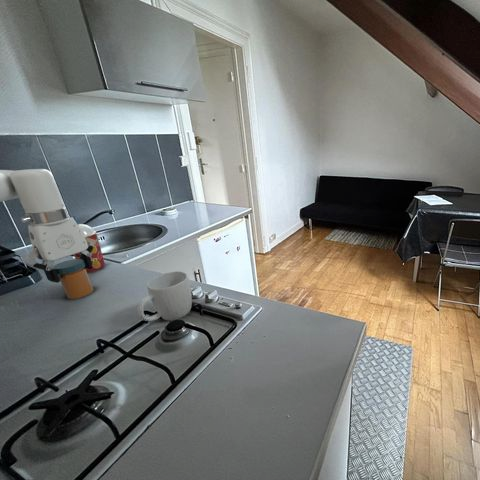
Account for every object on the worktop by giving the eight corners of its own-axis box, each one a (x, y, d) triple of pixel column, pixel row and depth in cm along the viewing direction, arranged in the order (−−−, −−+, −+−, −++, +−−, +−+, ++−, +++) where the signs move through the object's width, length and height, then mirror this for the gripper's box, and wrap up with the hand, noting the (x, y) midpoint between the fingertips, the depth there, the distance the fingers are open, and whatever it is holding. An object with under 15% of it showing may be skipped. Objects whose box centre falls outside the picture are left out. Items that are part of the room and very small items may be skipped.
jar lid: (66, 265, 78) (63, 260, 78) (90, 263, 79) (88, 257, 79) (48, 275, 72) (46, 270, 71) (75, 273, 73) (73, 267, 72)
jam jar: (63, 298, 77) (50, 270, 74) (85, 288, 82) (74, 261, 79) (76, 301, 75) (64, 272, 72) (98, 290, 80) (88, 263, 77)
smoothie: (106, 262, 100) (88, 212, 93) (110, 269, 95) (91, 216, 88) (78, 270, 95) (56, 217, 88) (80, 277, 89) (57, 221, 82)
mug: (182, 300, 74) (173, 268, 70) (202, 308, 70) (195, 275, 66) (134, 326, 64) (121, 291, 60) (155, 338, 59) (143, 301, 56)
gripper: (12, 227, 61) (43, 292, 67) (93, 209, 77) (112, 263, 83) (-5, 225, 63) (26, 288, 70) (76, 208, 79) (96, 261, 85)
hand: (72, 274), depth 76 cm, fingers open, 7 cm apart
